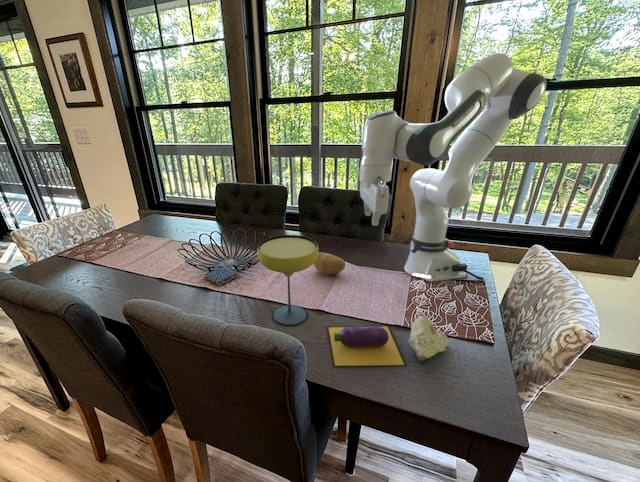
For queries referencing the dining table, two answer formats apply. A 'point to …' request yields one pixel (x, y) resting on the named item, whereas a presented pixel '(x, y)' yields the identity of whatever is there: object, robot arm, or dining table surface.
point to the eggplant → (362, 336)
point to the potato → (329, 263)
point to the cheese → (426, 339)
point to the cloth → (364, 352)
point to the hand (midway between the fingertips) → (370, 219)
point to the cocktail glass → (288, 267)
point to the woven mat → (221, 275)
